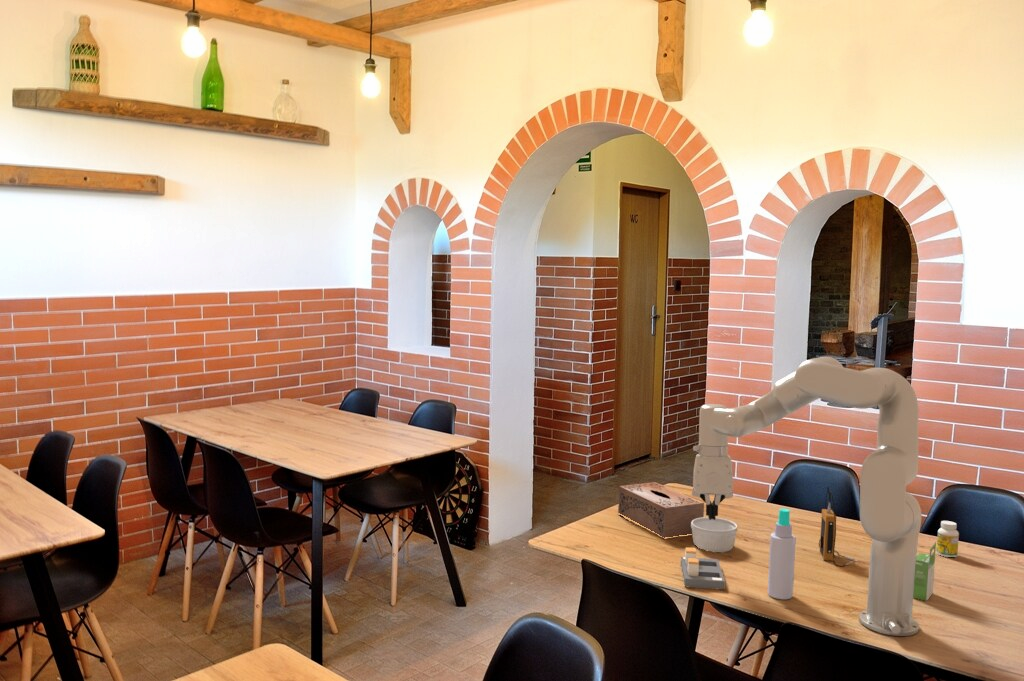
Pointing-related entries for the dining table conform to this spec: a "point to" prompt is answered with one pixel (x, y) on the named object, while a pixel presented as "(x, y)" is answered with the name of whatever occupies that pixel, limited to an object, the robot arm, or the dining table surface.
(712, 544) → the ramekin
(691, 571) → the white upright block
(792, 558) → the spray bottle
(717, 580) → the switch board
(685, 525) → the tissue box cover
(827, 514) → the multimeter
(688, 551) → the tab
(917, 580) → the ink box
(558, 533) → the dining table surface
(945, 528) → the supplement bottle
